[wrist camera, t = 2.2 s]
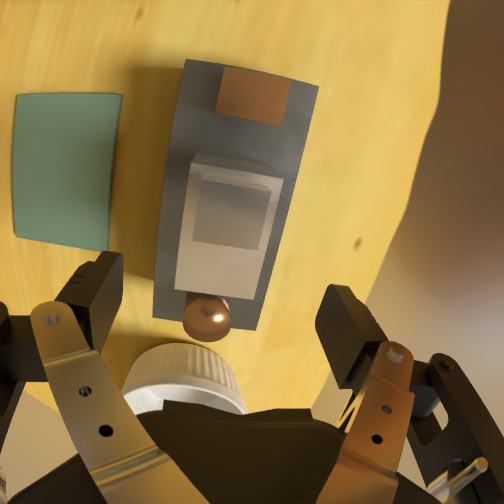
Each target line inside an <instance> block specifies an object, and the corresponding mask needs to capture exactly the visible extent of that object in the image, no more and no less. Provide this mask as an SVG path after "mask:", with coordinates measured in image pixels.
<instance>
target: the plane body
mask: <svg viewBox="0 0 504 504" xmlns="http://www.w3.org/2000/svg"><path fill="white" fill-rule="evenodd" d="M318 88H319V86H316V85H312V84H309V83H305V82H301V81H298V80H294V79H290V78H286V77H282V76H278V75H274V74H269V73H265V72H260V71H256V70H251V69H246V68H241V67H235V66H230V65H224V64H218V63H211V62H204V61H197V60H189V59H186V60H185V65H184V69H183V74H182V78H181V83H180V88H179V93H178V98H177V103H176V108H175V113H174V119H173V124H172V130H171V136H170V142H169V148H168V155H167V162H166V169H165V176H164V183H163V191H162V199H161V208H160V217H159V227H158V237H157V248H156V261H155V275H154V293H153V315H152V317H153V318H160V319H166V320H173V321H180V322H183V327H184V330H185V331H186V333H187V334H188V335H189V336H190V337H192V338H193V339H195V340H198V341H201V342H214V341H218V340H220V339H222V338H224V337H225V336H226V335H227V334H228V332H229V331H230V328H235V329H244V330H254V331H256V328H257V324H258V320H259V317H260V313H261V310H262V306H263V303H264V299H265V295H266V292H267V288H268V285H269V281H270V277H271V274H272V270H273V266H274V263H275V259H276V255H277V252H278V248H279V244H280V240H281V237H282V233H283V229H284V225H285V221H286V218H287V214H288V210H289V206H290V202H291V198H292V194H293V191H294V187H295V183H296V179H297V175H298V171H299V167H300V163H301V159H302V155H303V151H304V147H305V143H306V139H307V135H308V130H309V126H310V122H311V118H312V114H313V110H314V105H315V101H316V97H317V93H318ZM197 152H202V153H209V154H215V155H221V156H227V157H232V158H238V159H243V160H249V161H254V162H259V163H264V164H269V165H272V166H273V168H274V169H275V170H276V171H277V172H278V173H279V174H280V176H281V177H282V178H283V179H284V180H283V184H282V188H281V192H280V196H279V201H278V205H277V209H276V213H275V217H274V221H273V225H272V229H271V233H270V237H269V241H268V245H267V249H266V253H265V257H264V261H263V265H262V268H261V272H260V276H259V280H258V284H257V288H256V292H255V296H254V300H252V299H244V298H236V297H228V296H221V295H213V294H206V293H199V292H192V291H185V290H178V289H174V288H175V278H176V269H177V260H178V251H179V243H180V235H181V227H182V219H183V212H184V205H185V198H186V192H187V185H188V179H189V172H190V166H191V162H192V160H193V159H194V157H195V155H196V153H197Z"/></svg>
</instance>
